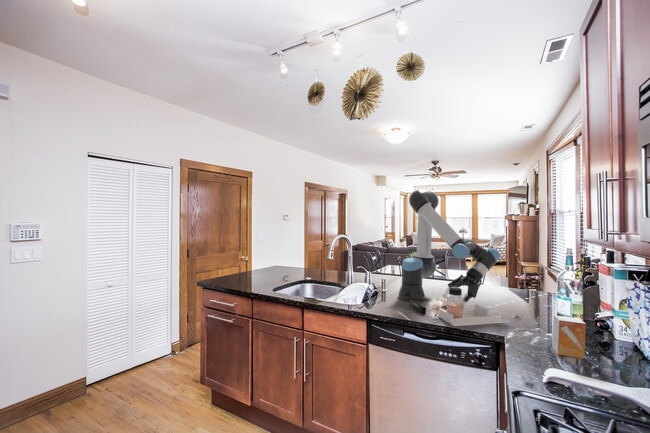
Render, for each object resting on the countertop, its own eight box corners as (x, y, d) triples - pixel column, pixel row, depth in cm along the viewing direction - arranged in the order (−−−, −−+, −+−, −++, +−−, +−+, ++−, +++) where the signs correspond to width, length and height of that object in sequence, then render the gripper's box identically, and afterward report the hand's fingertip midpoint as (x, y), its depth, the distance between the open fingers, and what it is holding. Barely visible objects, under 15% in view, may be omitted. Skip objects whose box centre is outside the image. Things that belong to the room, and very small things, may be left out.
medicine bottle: (463, 313, 156) (464, 290, 156) (448, 312, 158) (449, 289, 158) (460, 308, 163) (461, 286, 163) (446, 307, 165) (446, 285, 164)
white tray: (436, 317, 149) (436, 307, 149) (481, 314, 155) (481, 304, 155) (454, 328, 136) (454, 317, 135) (502, 324, 141) (503, 314, 141)
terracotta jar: (443, 317, 146) (443, 303, 146) (456, 316, 148) (456, 302, 148) (452, 322, 139) (452, 307, 139) (465, 322, 141) (466, 307, 141)
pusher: (474, 314, 151) (475, 304, 151) (482, 314, 152) (482, 304, 152) (487, 320, 142) (487, 310, 142) (495, 320, 143) (495, 309, 143)
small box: (557, 355, 112) (558, 320, 111) (551, 348, 118) (553, 314, 117) (584, 359, 109) (586, 323, 108) (577, 352, 115) (579, 317, 114)
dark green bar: (427, 307, 151) (411, 297, 165) (421, 307, 150) (406, 297, 165) (426, 316, 151) (411, 306, 166) (421, 317, 150) (406, 306, 165)
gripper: (499, 282, 151) (471, 314, 148) (465, 272, 176) (441, 299, 173) (490, 272, 150) (462, 303, 147) (457, 263, 174) (433, 290, 171)
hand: (451, 301), depth 160 cm, fingers open, 13 cm apart
